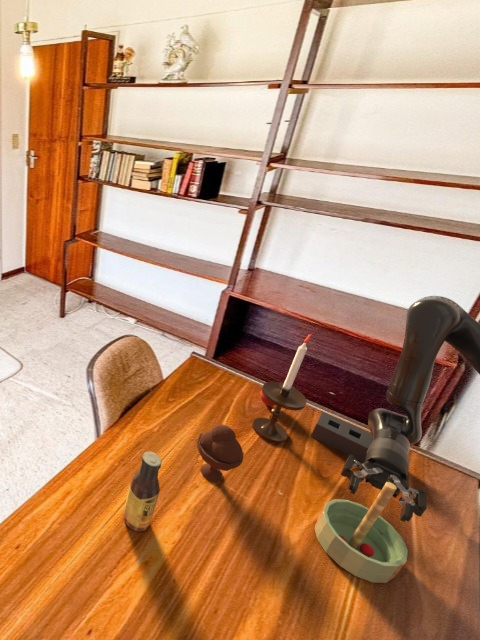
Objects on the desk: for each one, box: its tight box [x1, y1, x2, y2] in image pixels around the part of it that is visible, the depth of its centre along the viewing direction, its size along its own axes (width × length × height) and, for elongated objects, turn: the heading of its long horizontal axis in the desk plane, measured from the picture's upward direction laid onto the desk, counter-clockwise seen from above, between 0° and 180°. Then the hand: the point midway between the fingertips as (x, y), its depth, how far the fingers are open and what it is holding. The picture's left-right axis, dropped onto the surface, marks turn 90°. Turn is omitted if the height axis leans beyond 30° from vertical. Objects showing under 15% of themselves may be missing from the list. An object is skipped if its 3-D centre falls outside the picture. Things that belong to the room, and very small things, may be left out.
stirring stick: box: [348, 482, 397, 550], centre depth 84 cm, size 2×2×20 cm
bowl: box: [314, 498, 409, 584], centre depth 87 cm, size 14×14×6 cm
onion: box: [259, 389, 276, 407], centre depth 128 cm, size 6×6×8 cm
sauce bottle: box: [123, 451, 163, 533], centre depth 88 cm, size 6×6×20 cm
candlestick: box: [251, 333, 313, 444], centre depth 111 cm, size 11×11×35 cm
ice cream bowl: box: [196, 424, 245, 483], centre depth 102 cm, size 11×11×15 cm
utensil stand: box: [310, 411, 372, 464], centre depth 114 cm, size 17×7×5 cm, turn 44°
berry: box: [360, 543, 374, 557], centre depth 86 cm, size 2×2×2 cm
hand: (378, 504), depth 85 cm, fingers open, 8 cm apart
